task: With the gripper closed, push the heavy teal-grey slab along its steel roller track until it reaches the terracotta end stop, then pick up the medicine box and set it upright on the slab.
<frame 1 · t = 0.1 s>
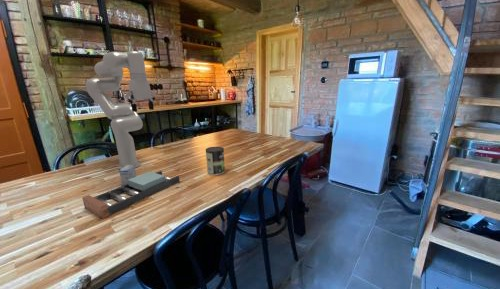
hand: (143, 110, 118), 37 cm above the table, tool pointing down, fingers open, 9 cm apart
slab: (146, 180, 109), point 4 cm above the table, slide at 16.0 cm
medicine box: (129, 183, 117), on the table
roller track: (137, 193, 105), on the table
coffee can: (216, 172, 129), on the table
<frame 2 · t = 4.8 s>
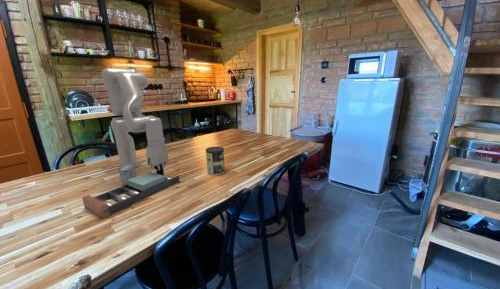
hand: (160, 176, 115), 4 cm above the table, tool pointing down, fingers closed
slab: (146, 180, 108), point 4 cm above the table, slide at 15.9 cm, touching gripper
everything else where it was.
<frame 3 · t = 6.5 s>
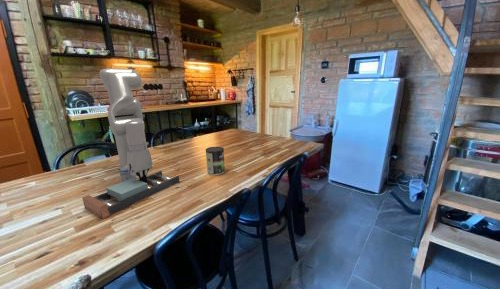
hand: (143, 183, 107), 4 cm above the table, tool pointing down, fingers closed
slab: (127, 188, 101), point 4 cm above the table, slide at 6.3 cm, touching gripper
everything else where it was.
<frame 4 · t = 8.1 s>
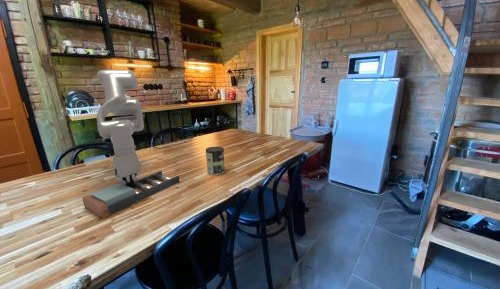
hand: (131, 188, 102), 4 cm above the table, tool pointing down, fingers closed
slab: (113, 194, 95), point 4 cm above the table, slide at -0.1 cm, touching gripper
everything else where it was.
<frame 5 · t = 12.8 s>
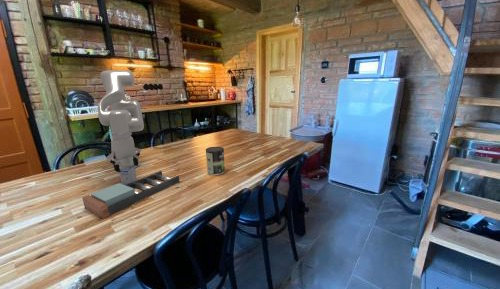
hand: (127, 168, 114), 8 cm above the table, tool pointing down, fingers open, 9 cm apart
slab: (113, 194, 95), point 4 cm above the table, slide at 0.0 cm
medicine box: (129, 183, 117), on the table, touching gripper
everything else where it was.
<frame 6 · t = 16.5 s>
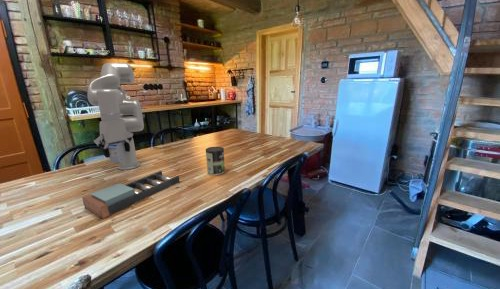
hand: (117, 153, 104), 19 cm above the table, tool pointing down, fingers closed on medicine box, 9 cm apart
medicine box: (118, 160, 105), point 16 cm above the table, touching gripper
everything else where it was.
when the fingers open (10 cm above the table, at t = 19.5 s): medicine box stays where it is, resting on slab.
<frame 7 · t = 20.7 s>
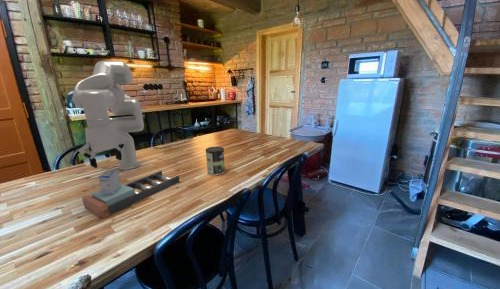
hand: (107, 163, 92), 19 cm above the table, tool pointing down, fingers open, 9 cm apart
slab: (113, 194, 95), point 4 cm above the table, slide at 0.0 cm, touching medicine box
medicine box: (112, 191, 95), point 6 cm above the table, touching slab
everything else where it was.
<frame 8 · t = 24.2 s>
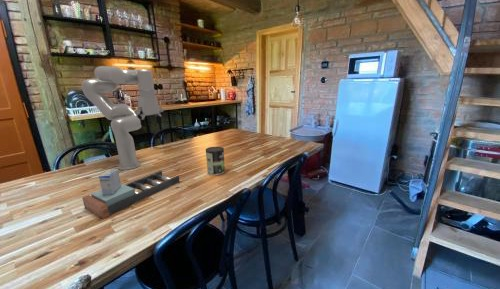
hand: (151, 125, 123), 28 cm above the table, tool pointing down, fingers open, 9 cm apart
nothing on the table moved.
at the end: slab slide at 0.1 cm; medicine box touching slab; medicine box tilted 0° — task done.
